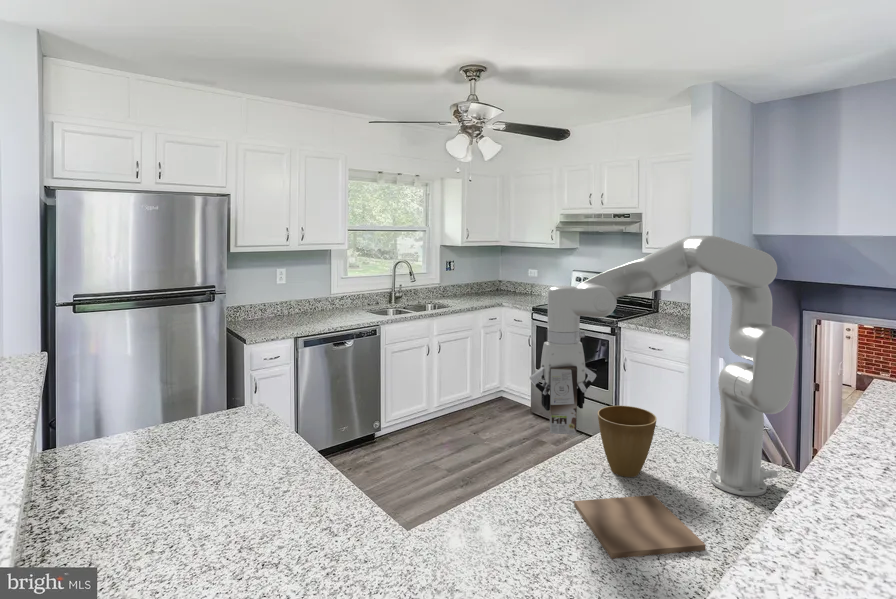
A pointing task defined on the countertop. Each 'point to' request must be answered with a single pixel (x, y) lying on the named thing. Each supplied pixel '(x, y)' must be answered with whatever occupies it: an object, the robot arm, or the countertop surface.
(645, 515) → the walnut board
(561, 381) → the coffee box
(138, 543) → the countertop surface
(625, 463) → the plant pot
